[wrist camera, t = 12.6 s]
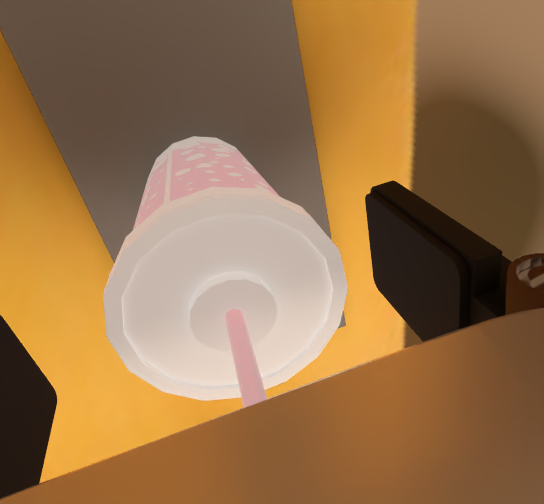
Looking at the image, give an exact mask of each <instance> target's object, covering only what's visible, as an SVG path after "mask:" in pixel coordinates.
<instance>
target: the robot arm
mask: <svg viewBox="0 0 544 504" xmlns="http://www.w3.org/2000/svg"><path fill="white" fill-rule="evenodd" d="M365 202H366V211H367V221H368V230H369V240H370V249H371V259H372V268H373V277H374V281H375V284H376V286H377V288H378V290H379V291H380V292H381V293H382V295H383V296H384V297H385V298H386V299H387V300H388V302H389V303H390V304H391V305H392V306H393V307H394V309H395V310H396V311H397V312H398V313H399V314H400V316H401V317H402V318H403V319H404V320H405V321H406V322H407V324H408V325H409V326H410V327H411V328H412V329H413V330H414V332H415V333H416V334H417V335H418V336H419V338H420V339H421V340H422V341H423V342H422V343H419V344H416V345H414V346H411V347H408V348H405V349H402V350H400V351H397V352H394V353H391V354H389V355H386V356H383V357H380V358H378V359H375V360H372V361H369V362H367V363H364V364H361V365H358V366H356V367H353V368H350V369H347V370H345V371H342V372H339V373H337V374H334V375H331V376H328V377H326V378H323V379H320V380H317V381H315V382H312V383H309V384H307V385H304V386H301V387H299V388H296V389H293V390H290V391H288V392H285V393H282V394H280V395H277V396H274V397H272V398H269V399H266V400H263V401H261V402H258V403H255V404H253V405H250V406H247V407H245V408H242V409H239V410H236V411H234V412H231V413H228V414H226V415H223V416H220V417H218V418H215V419H212V420H209V421H207V422H204V423H201V424H199V425H196V426H193V427H191V428H188V429H185V430H182V431H180V432H177V433H174V434H172V435H169V436H166V437H164V438H161V439H158V440H155V441H153V442H150V443H147V444H145V445H142V446H139V447H137V448H134V449H131V450H128V451H126V452H123V453H120V454H118V455H115V456H112V457H110V458H107V459H104V460H101V461H99V462H96V463H93V464H91V465H88V466H85V467H83V468H80V469H77V470H75V471H72V472H69V473H67V474H64V475H61V476H59V477H56V478H53V479H51V480H48V481H45V482H43V483H40V484H39V482H40V477H41V473H42V468H43V464H44V459H45V455H46V450H47V446H48V441H49V437H50V432H51V428H52V423H53V419H54V414H55V410H56V405H57V395H56V392H55V390H54V388H53V386H52V385H51V384H50V382H49V381H48V379H47V378H46V377H45V375H44V374H43V373H42V371H41V370H40V368H39V367H38V366H37V364H36V363H35V361H34V360H33V359H32V357H31V356H30V355H29V353H28V352H27V350H26V349H25V348H24V346H23V345H22V343H21V342H20V341H19V339H18V338H17V337H16V335H15V334H14V332H13V331H12V330H11V328H10V327H9V325H8V324H7V323H6V321H5V320H4V319H3V317H2V316H1V315H0V504H544V253H534V254H529V255H524V256H521V257H519V258H517V259H515V260H514V261H513V262H511V261H510V260H508V259H507V258H505V257H504V256H502V251H501V250H499V249H498V248H496V247H495V246H493V245H491V244H490V243H489V242H487V241H486V240H484V239H482V238H481V237H479V236H478V235H477V234H475V233H473V232H472V231H470V230H469V229H467V228H466V227H464V226H463V225H461V224H460V223H458V222H457V221H455V220H454V219H452V218H451V217H449V216H448V215H446V214H444V213H443V212H441V211H440V210H438V209H437V208H435V207H434V206H432V205H431V204H429V203H428V202H426V201H425V200H423V199H421V198H420V197H419V196H417V195H416V194H414V193H412V192H411V191H409V190H408V189H406V188H405V187H403V186H402V185H400V184H399V183H397V182H396V181H390V182H387V183H383V184H380V185H377V186H374V187H372V188H371V192H370V194H367V195H366V198H365Z"/></svg>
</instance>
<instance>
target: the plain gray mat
mask: <svg viewBox="0 0 544 504" xmlns="http://www.w3.org/2000/svg"><path fill="white" fill-rule="evenodd" d="M0 30H1V32H2V34H3V36H4V38H5V40H6V42H7V44H8V46H9V48H10V50H11V52H12V55H13V57H14V59H15V61H16V63H17V65H18V67H19V69H20V71H21V73H22V75H23V77H24V79H25V81H26V83H27V85H28V87H29V89H30V91H31V93H32V96H33V98H34V100H35V102H36V104H37V106H38V108H39V110H40V112H41V114H42V116H43V118H44V120H45V122H46V124H47V126H48V128H49V130H50V132H51V134H52V137H53V139H54V141H55V143H56V145H57V147H58V149H59V151H60V153H61V155H62V157H63V159H64V161H65V163H66V165H67V167H68V169H69V171H70V173H71V175H72V178H73V180H74V182H75V184H76V186H77V188H78V190H79V192H80V194H81V196H82V198H83V200H84V202H85V204H86V206H87V208H88V210H89V212H90V214H91V217H92V219H93V221H94V223H95V225H96V227H97V229H98V231H99V233H100V235H101V237H102V239H103V241H104V243H105V245H106V247H107V249H108V251H109V253H110V255H111V258H112V260H113V262H114V263H115V261H116V259H117V256H118V254H119V252H120V249H121V247H122V245H123V242H124V240H125V238H126V236H127V235H128V234H130V233H131V232H132V231H133V228H134V225H135V221H136V218H137V214H138V211H139V207H140V204H141V201H142V197H143V194H144V190H145V187H146V183H147V180H148V177H149V175H150V172H151V170H152V168H153V165H154V163H155V161H156V158H157V157H159V156H160V155H161V154H162V153H163V152H164V151H165V150H166V149H167V148H168V147H169V146H171V145H172V144H173V143H176V142H179V141H182V140H185V139H187V138H190V137H193V136H196V137H213V138H218V139H220V140H222V141H224V142H226V143H228V144H230V145H232V146H234V147H236V148H237V150H238V151H239V152H240V153H241V154H242V155H243V156H244V157H245V158H246V160H247V161H248V162H249V163H250V164H251V165H252V166H253V167H254V168H255V170H256V171H257V172H258V173H259V174H260V175H261V176H262V177H263V178H264V180H265V181H266V182H267V183H268V184H269V185H270V186H271V187H272V188H273V190H274V191H275V192H276V193H277V194H278V195H279V196H280V197H281V198H284V199H286V200H288V201H290V202H292V203H294V204H297V205H299V206H301V207H303V209H304V210H305V211H306V212H307V213H308V214H309V215H310V216H311V217H312V218H313V219H314V221H315V222H316V223H317V224H318V225H319V226H320V228H321V229H322V230H323V231H324V232H325V234H326V235H327V236H328V237H329V238H330V239H331V234H330V228H329V222H328V216H327V210H326V204H325V198H324V192H323V186H322V180H321V174H320V168H319V162H318V156H317V150H316V144H315V138H314V132H313V126H312V120H311V114H310V108H309V102H308V96H307V90H306V84H305V78H304V73H303V67H302V61H301V55H300V49H299V43H298V37H297V31H296V25H295V19H294V13H293V7H292V1H291V0H0ZM331 241H332V240H331ZM343 326H346V323H345V317H344V311H343V313H342V317H341V322H340V325H339V327H338V328H340V327H343Z"/></svg>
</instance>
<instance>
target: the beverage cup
mask: <svg viewBox="0 0 544 504" xmlns="http://www.w3.org/2000/svg"><path fill="white" fill-rule="evenodd" d="M108 279H109V280H108V282H107V284H106V287H105V289H104V294H103V298H104V310H105V322H106V335H107V338H108V340H109V341H110V343H111V344H112V346H113V347H114V349H115V350H116V352H117V353H118V355H119V357H120V358H121V360H122V361H123V363H124V364H125V366H126V367H127V369H128V370H129V371H130V372H132V373H133V374H135V375H137V376H138V377H140V378H141V379H143V380H145V381H146V382H148V383H149V384H151V385H153V386H154V387H156V388H157V389H159V390H161V391H162V392H165V393H170V394H174V395H179V396H184V397H189V398H194V399H198V400H203V401H207V400H217V399H228V398H239V397H241V398H242V402H243V407H244V408H245V407H247V406H250V405H253V404H255V403H258V402H261V401H263V400H266V399H267V397H266V393H265V389H268V388H270V387H273V386H276V385H278V384H281V383H283V382H286V381H287V380H288V379H290V378H291V377H292V376H294V375H295V374H296V373H297V372H299V371H300V370H301V369H303V368H304V367H305V366H307V365H308V364H309V363H311V362H312V361H313V360H314V359H316V358H317V357H318V356H319V354H320V353H321V351H322V350H323V349H324V347H325V346H326V344H327V343H328V341H329V340H330V338H331V337H332V335H333V334H334V332H335V331H336V330H337V328H338V327H339V325H340V322H341V317H342V313H343V308H344V304H345V299H346V295H347V291H348V285H347V281H346V276H345V272H344V268H343V263H342V259H341V255H340V251H339V249H338V248H337V247H336V245H335V244H334V243H333V242H332V241H331V239H330V238H329V237H328V236H327V235H326V234H325V232H324V231H323V230H322V229H321V228H320V226H319V225H318V224H317V223H316V222H315V221H314V219H313V218H312V217H311V216H310V215H309V214H308V213H307V212H306V211H305V210H304V209H303V207H301V206H299V205H297V204H294V203H292V202H290V201H288V200H286V199H284V198H281V197H280V196H279V195H278V194H277V193H276V192H275V191H274V190H273V188H272V187H271V186H270V185H269V184H268V183H267V182H266V181H265V180H264V178H263V177H262V176H261V175H260V174H259V173H258V172H257V171H256V170H255V168H254V167H253V166H252V165H251V164H250V163H249V162H248V161H247V160H246V158H245V157H244V156H243V155H242V154H241V153H240V152H239V151H238V150H237V148H236V147H234V146H232V145H230V144H228V143H226V142H224V141H222V140H220V139H218V138H213V137H196V136H193V137H190V138H187V139H185V140H182V141H179V142H176V143H173V144H172V145H171V146H169V147H168V148H167V149H166V150H165V151H164V152H163V153H162V154H161V155H160V156H159V157H157V158H156V161H155V163H154V165H153V168H152V170H151V172H150V175H149V177H148V180H147V183H146V187H145V190H144V194H143V197H142V201H141V204H140V207H139V211H138V214H137V218H136V221H135V225H134V228H133V231H132V232H131V233H130V234H128V235H127V236H126V238H125V240H124V242H123V245H122V247H121V249H120V252H119V254H118V256H117V259H116V261H115V263H114V265H113V268H112V270H111V272H110V275H109V277H108Z"/></svg>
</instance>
